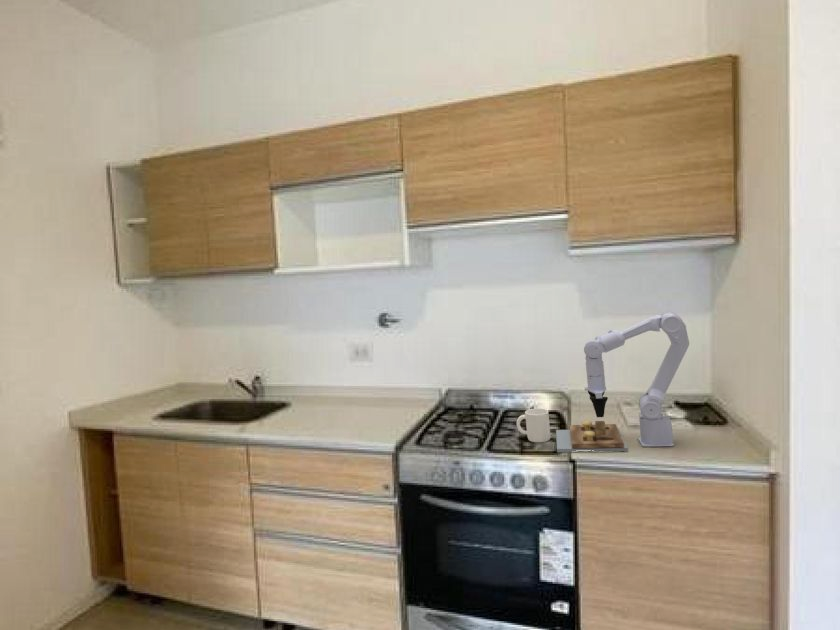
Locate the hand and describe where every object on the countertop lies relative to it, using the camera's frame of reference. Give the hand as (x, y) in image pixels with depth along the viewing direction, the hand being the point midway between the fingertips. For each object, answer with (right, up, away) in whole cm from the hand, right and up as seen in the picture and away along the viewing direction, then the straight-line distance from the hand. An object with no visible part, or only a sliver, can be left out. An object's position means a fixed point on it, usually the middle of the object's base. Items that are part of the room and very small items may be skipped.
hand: (599, 413), depth 165 cm
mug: (-20, -12, +11) cm, 25 cm away
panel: (-1, -8, +1) cm, 9 cm away
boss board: (-3, -10, +2) cm, 11 cm away
